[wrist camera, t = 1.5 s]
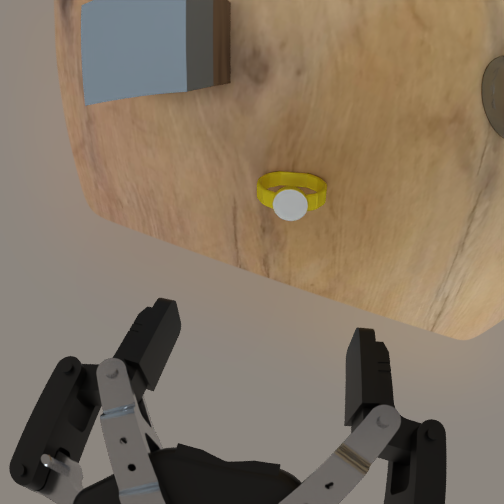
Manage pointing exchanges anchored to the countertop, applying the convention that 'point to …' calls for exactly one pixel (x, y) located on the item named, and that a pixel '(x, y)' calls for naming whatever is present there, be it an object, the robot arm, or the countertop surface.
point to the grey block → (145, 47)
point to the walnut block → (221, 42)
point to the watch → (291, 193)
